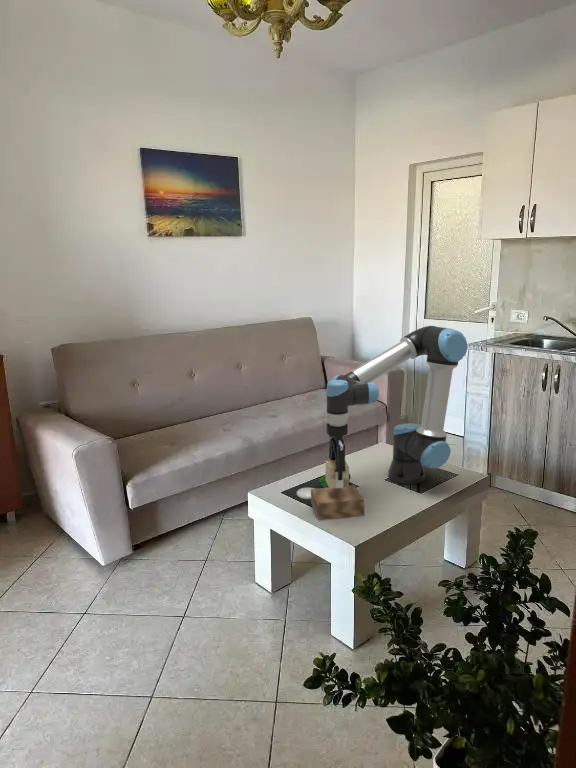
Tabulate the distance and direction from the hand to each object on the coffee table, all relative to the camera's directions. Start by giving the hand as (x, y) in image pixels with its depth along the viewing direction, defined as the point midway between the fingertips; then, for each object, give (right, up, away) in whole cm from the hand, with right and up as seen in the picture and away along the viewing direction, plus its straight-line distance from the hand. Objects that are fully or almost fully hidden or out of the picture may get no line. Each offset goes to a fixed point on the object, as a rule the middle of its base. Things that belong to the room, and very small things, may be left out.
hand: (336, 483), depth 194 cm
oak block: (0, 0, 0) cm, 0 cm away
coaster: (-10, -7, +16) cm, 20 cm away
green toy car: (+1, -6, +23) cm, 24 cm away
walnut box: (0, -10, +2) cm, 11 cm away
